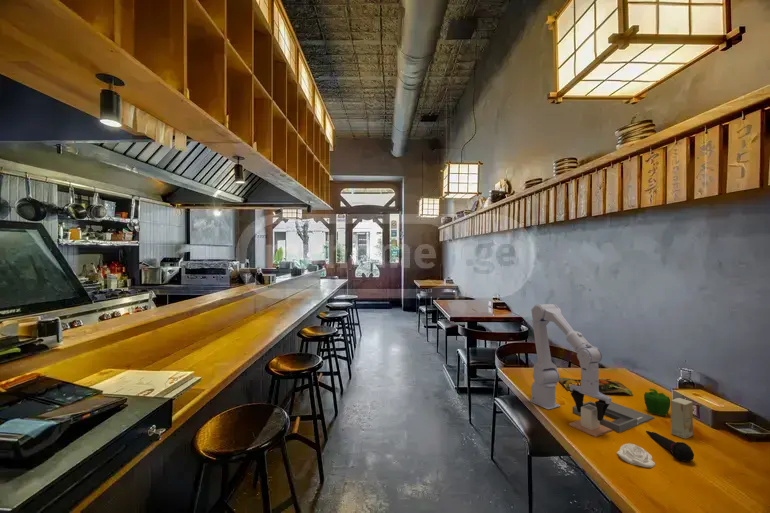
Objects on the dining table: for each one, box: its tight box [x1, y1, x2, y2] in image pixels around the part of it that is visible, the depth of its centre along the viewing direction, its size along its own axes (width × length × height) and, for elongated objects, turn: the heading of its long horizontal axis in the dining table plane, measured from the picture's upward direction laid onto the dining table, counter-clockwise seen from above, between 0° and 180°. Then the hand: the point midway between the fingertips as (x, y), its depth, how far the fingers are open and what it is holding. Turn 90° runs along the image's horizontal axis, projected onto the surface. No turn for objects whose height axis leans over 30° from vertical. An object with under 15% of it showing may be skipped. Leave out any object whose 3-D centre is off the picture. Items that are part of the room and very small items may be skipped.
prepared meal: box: [558, 377, 634, 396], centre depth 166 cm, size 28×4×18 cm
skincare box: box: [670, 397, 694, 440], centre depth 121 cm, size 6×4×12 cm
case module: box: [580, 405, 600, 430], centre depth 126 cm, size 4×5×7 cm
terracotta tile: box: [568, 419, 613, 438], centre depth 126 cm, size 10×10×1 cm
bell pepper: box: [643, 387, 671, 417], centre depth 138 cm, size 8×8×10 cm
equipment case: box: [571, 400, 655, 434], centre depth 135 cm, size 18×25×2 cm
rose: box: [616, 443, 656, 469], centre depth 106 cm, size 10×4×10 cm
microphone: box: [645, 430, 695, 463], centre depth 113 cm, size 6×6×20 cm
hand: (589, 415), depth 126 cm, fingers open, 7 cm apart
